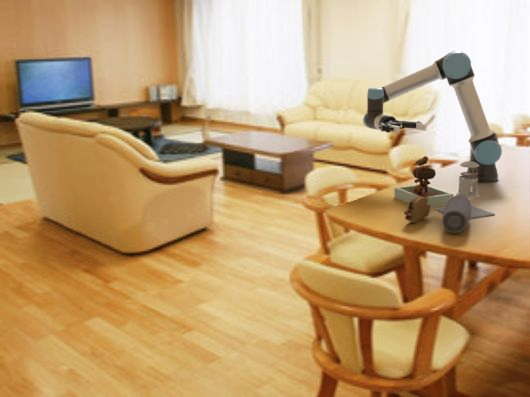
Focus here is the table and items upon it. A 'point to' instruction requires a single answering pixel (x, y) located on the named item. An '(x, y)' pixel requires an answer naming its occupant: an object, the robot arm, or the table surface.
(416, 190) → the dark brown irregular piece
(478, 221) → the table surface
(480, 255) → the table surface
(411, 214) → the wooden carving
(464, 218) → the bluetooth speaker
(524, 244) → the table surface
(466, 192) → the french press
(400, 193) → the storage box
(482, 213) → the slate mat
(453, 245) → the table surface
